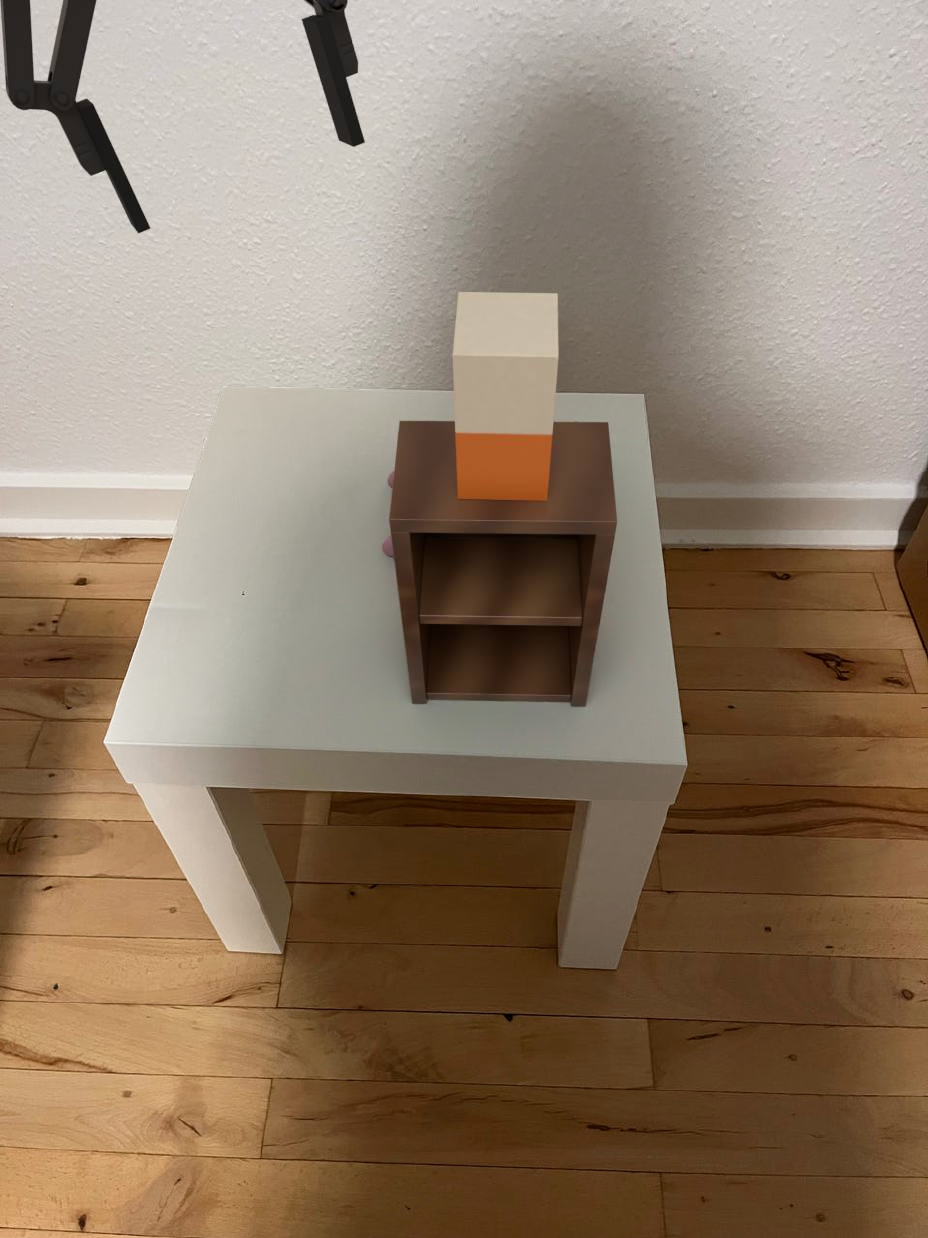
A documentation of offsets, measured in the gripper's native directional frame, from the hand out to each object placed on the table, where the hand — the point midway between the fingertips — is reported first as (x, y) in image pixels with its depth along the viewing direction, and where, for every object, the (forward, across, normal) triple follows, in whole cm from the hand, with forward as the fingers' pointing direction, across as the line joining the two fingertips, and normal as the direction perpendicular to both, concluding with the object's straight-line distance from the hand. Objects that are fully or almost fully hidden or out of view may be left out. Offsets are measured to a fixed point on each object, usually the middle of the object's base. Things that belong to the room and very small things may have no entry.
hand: (248, 183), depth 54 cm
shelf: (+39, +5, -5) cm, 40 cm away
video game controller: (+35, +6, +11) cm, 37 cm away
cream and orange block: (+18, +7, -11) cm, 23 cm away
